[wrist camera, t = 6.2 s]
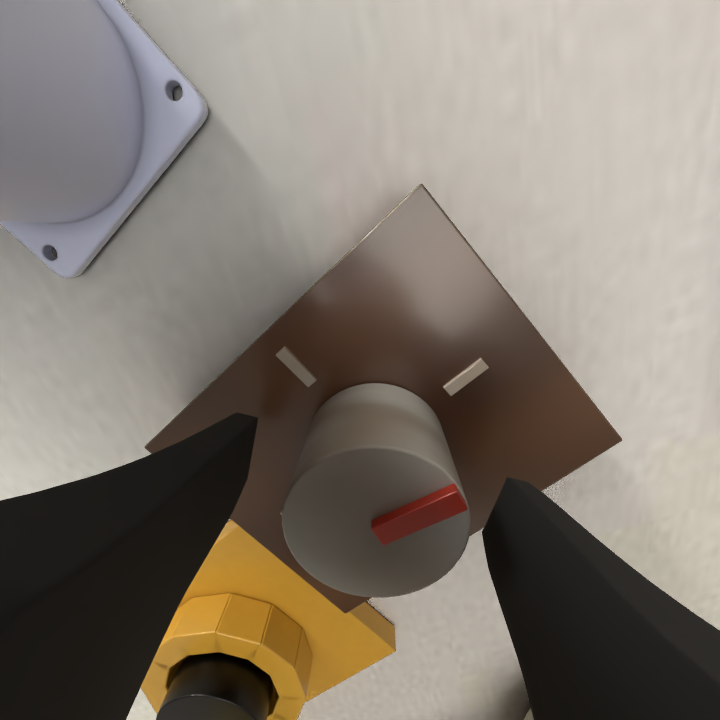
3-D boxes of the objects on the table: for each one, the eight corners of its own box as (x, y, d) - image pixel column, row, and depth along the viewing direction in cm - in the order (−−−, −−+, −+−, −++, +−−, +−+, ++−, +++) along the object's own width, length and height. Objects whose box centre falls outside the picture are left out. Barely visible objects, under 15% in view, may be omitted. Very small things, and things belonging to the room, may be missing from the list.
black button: (157, 676, 17) (134, 724, 15) (220, 633, 16) (202, 680, 14) (229, 725, 18) (214, 775, 16) (293, 687, 17) (284, 737, 15)
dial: (352, 519, 13) (343, 632, 9) (281, 422, 12) (238, 507, 8) (467, 467, 12) (507, 569, 8) (402, 357, 11) (416, 419, 7)
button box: (100, 623, 20) (53, 688, 17) (251, 503, 17) (225, 558, 14) (239, 717, 22) (219, 790, 19) (395, 626, 19) (398, 695, 16)
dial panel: (186, 408, 15) (140, 450, 12) (411, 194, 12) (422, 181, 9) (350, 552, 17) (345, 619, 14) (575, 400, 14) (627, 443, 11)
